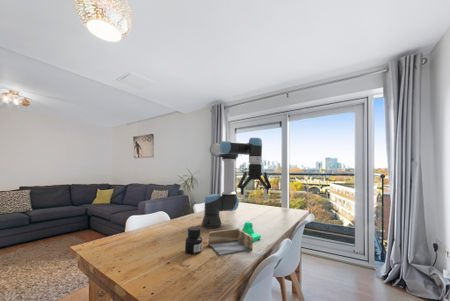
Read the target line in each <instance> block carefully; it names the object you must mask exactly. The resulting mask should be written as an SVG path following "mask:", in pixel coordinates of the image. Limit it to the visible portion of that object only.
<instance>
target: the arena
mask: <svg viewBox="0 0 450 301" xmlns="http://www.w3.org/2000/svg"><path fill="white" fill-rule="evenodd" d="M253 243H254V242H253V237H252V236H250V235H249V234H247V233H245V232H244V231H242V230H241V228H231V229H223V230H222V229H221V230H214V231H209V232H208V245H209V246H210V247H211V248H212V249H213V251H214V252H215V253H217V255H218V256H221V257H222V256H225V255H230V254H231V255H232V254H236V253H243V252H247V251H252V250H253V248H254V247H253Z"/></svg>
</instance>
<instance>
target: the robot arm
mask: <svg viewBox="0 0 450 301" xmlns="http://www.w3.org/2000/svg"><path fill="white" fill-rule="evenodd" d="M209 152H210V155H212V156H214V157H217V158H221V160H222V161H223V191H222V193H221V194H219V193H213V194H211V193H210V194H208V195H206V196H205V197H204V211H203V212H204V213H203V214H204V215H203V218H202V221H201V226H202V227H203V228H207V229H217V228H220V227H222V220H221V217H220V212H232V211H236V210H237V209H238V207H239V205H240V199H239V196H238V195H237V193H236V191H235V162H236V161H237V159H238V157H239V155H245V156H246V155H247V156H248V172H247V171H243V172H242V176H241V179H240V181H239V183H238V185H237V188H239V189H240V195H241V200H242V201H243V202H245V200H246V189H245V188H246V187H247V185H248V184H249V183H250V182H251V181H252V180H254V181H255V180H257V181H259V182H260V183H261V185H262V186H263V187H264V188H263V200H264V201H266V202H267V199H268V195H269V190H270V189H272V185H271V183H270V180H269V179H268V178H269V177H268V175H267V172H265V171H263V172H262V170H263V169H262V167H263V166H262V162H263V161H262V159H263V156H262V155H263V153H262V152H263V140H262V138H261V137H250V138H249V141H248V142H244V141H243V142H242V141H241V142H239V141H227V140H223V141H221V142H216V143H212V144H210V146H209ZM247 176H248V177H247ZM246 177H247V179H246ZM262 177H263V178H262ZM263 179H264V180H263Z"/></svg>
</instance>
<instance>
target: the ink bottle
mask: <svg viewBox="0 0 450 301" xmlns="http://www.w3.org/2000/svg"><path fill="white" fill-rule="evenodd" d="M201 230H202V229H201V227H199V226H189V227H188V228H187V237H186V238H185V243H184V252H185V253H186V254H187V255H199V254H200V253H201V252H203V251H202V249H203V248H202V246H203V238H202V237H201Z"/></svg>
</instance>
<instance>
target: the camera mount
mask: <svg viewBox="0 0 450 301" xmlns="http://www.w3.org/2000/svg"><path fill="white" fill-rule="evenodd" d="M253 226H254V225H253V223H252V222H249V221H246V222H245V223H244V225H243V227H242V231H244V232H245V233H247V234H249V235H250V236H252V237H253V243H255V242H257V241H259V239H261V238H262V235H261V234H259V233H258V232H257V233H256V232H255V231H254V229H253Z"/></svg>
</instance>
